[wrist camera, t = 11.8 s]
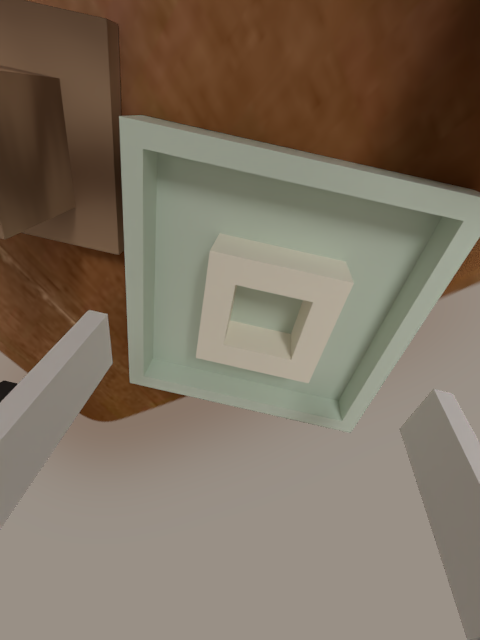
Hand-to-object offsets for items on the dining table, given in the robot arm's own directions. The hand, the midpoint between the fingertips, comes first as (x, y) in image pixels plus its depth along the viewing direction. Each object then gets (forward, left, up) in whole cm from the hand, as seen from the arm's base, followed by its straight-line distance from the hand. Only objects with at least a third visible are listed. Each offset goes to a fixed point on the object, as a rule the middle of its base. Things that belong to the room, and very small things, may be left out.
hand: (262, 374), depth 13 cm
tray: (+1, 0, -8) cm, 7 cm away
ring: (+1, 0, -7) cm, 7 cm away
